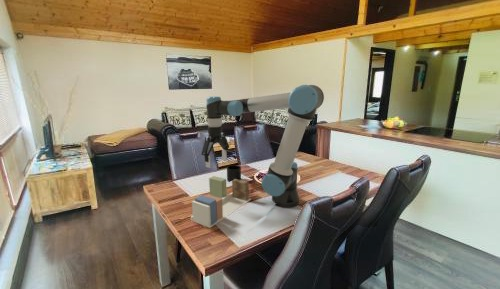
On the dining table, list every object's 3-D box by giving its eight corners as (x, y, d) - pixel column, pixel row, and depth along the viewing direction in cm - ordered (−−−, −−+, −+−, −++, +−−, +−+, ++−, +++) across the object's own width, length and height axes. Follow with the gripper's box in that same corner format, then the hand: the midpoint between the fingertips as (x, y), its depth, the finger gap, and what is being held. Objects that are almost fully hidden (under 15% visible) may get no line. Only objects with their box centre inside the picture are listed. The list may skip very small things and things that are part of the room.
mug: (234, 185, 164) (234, 171, 161) (224, 179, 173) (224, 167, 170) (246, 181, 169) (246, 168, 167) (235, 176, 178) (235, 164, 176)
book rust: (222, 216, 122) (222, 198, 120) (217, 220, 119) (216, 201, 117) (210, 212, 127) (209, 194, 124) (204, 215, 123) (203, 197, 121)
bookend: (248, 198, 141) (248, 182, 139) (245, 200, 139) (245, 183, 136) (235, 195, 146) (235, 178, 144) (232, 197, 143) (232, 180, 141)
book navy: (217, 221, 118) (216, 199, 116) (210, 225, 115) (209, 203, 112) (202, 216, 123) (201, 195, 121) (196, 220, 120) (194, 198, 117)
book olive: (226, 198, 144) (226, 179, 141) (222, 201, 141) (221, 181, 138) (214, 195, 149) (213, 176, 146) (210, 197, 146) (209, 178, 143)
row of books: (251, 201, 141) (251, 182, 138) (210, 230, 113) (208, 207, 111) (234, 196, 147) (233, 178, 145) (191, 222, 120) (189, 200, 117)
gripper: (224, 122, 148) (225, 157, 152) (192, 128, 127) (195, 169, 132) (234, 123, 143) (235, 159, 148) (203, 130, 123) (206, 171, 128)
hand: (216, 163), depth 140 cm, fingers open, 13 cm apart
